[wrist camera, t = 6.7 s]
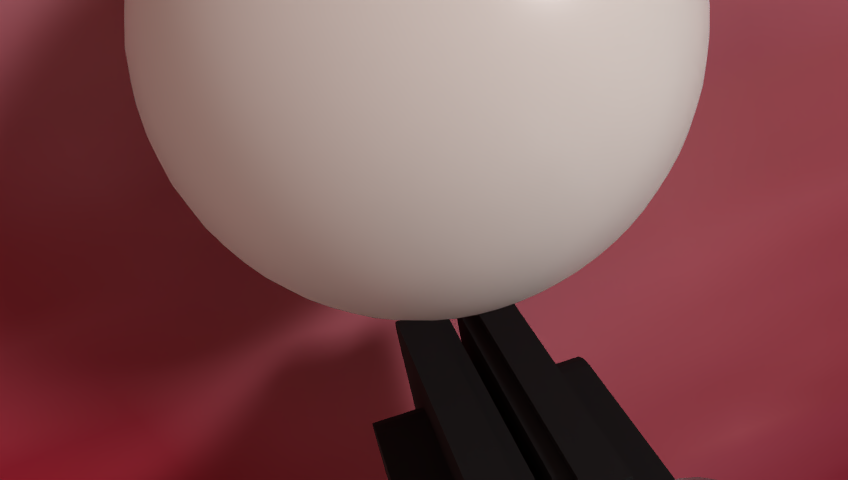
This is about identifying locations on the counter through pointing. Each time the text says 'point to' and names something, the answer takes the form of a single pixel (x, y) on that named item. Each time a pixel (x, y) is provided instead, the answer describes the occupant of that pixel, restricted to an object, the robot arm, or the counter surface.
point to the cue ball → (416, 136)
